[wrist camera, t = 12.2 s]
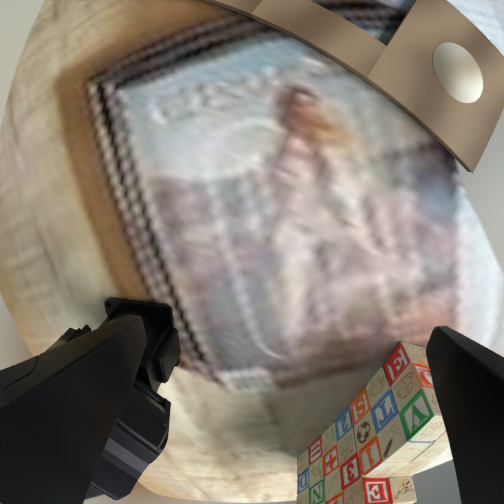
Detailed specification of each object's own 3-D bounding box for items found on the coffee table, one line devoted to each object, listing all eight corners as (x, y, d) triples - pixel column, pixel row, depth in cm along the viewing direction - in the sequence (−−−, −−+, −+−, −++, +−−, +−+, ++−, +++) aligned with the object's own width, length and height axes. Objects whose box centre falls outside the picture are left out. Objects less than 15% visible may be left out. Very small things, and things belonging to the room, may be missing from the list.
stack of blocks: (399, 337, 23) (450, 447, 11) (443, 351, 23) (495, 443, 12) (296, 457, 30) (295, 539, 19) (337, 462, 30) (343, 538, 19)
